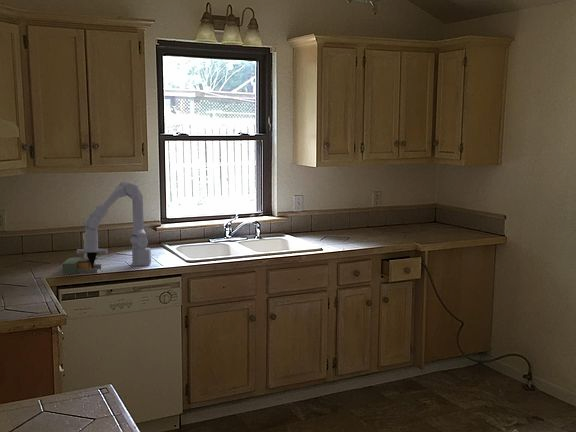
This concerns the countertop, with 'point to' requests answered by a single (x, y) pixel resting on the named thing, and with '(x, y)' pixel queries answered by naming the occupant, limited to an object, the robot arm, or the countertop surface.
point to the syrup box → (85, 247)
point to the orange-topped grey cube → (84, 263)
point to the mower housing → (77, 267)
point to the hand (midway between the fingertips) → (92, 267)
